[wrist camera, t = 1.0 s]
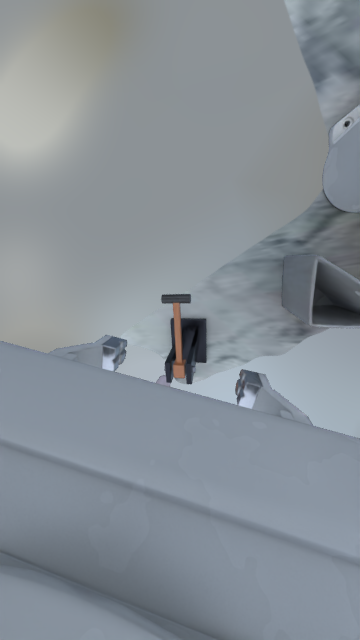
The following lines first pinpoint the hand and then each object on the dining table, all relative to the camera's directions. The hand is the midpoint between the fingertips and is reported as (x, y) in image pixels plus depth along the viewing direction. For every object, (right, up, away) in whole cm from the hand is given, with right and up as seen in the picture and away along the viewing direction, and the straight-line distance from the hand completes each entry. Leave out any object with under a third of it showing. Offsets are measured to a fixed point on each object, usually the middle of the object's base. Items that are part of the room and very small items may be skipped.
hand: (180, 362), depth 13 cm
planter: (+26, +9, +29) cm, 40 cm away
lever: (0, 0, +23) cm, 23 cm away
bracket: (+2, -2, +37) cm, 38 cm away
